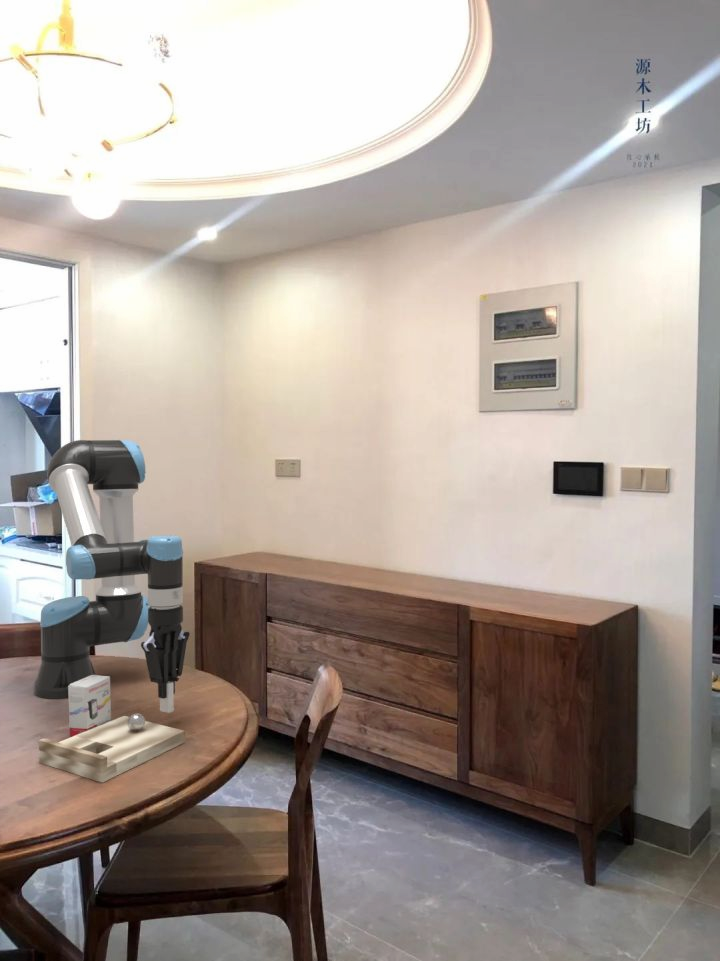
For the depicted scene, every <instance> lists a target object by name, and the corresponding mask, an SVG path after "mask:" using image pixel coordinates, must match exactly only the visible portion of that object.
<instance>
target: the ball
mask: <svg viewBox="0 0 720 961" xmlns="http://www.w3.org/2000/svg"><path fill="white" fill-rule="evenodd" d="M128 717H129V719H128V721H127V725H128V727H129V729H130V730H132V731H139V730H141V729H142V728H143V727H144V724H145V721H146V719H145V717H144V716H143V714H141V713H137V712H136V713H133V714H131V715H130V716H128Z"/></svg>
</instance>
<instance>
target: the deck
mask: <svg viewBox="0 0 720 961" xmlns="http://www.w3.org/2000/svg"><path fill="white" fill-rule="evenodd" d="M129 717H130V716H126V715H123V716H120V717H118V718H115V719H111V721H110V722H107V723H105V724H103V725H100V726H98V727H95V728H93V729H90V730H88V731H85V732H83V733H80V734H78V735H75V736H73V737H70V736H69V737H68V738H66V739H63V740H61V741H59V742H58V741H54V740H51V739H48V738H41V739H39V740H38V762H39V763H40V764H43V765H46V766H49V767H51V768H56V769H58V770H61V771H65V772H68V773H71V774H73V775H77V776H80V777H84V778H87V779H90V780H92V781H95V782H99V783H105V782H107V781H109V780H111V779H113V778H115V777H117V776H118V775H121V774H123V773H125V772H127V771H129V770H131V769H133V768H135V767H137V766H140V765H141V764H144V763H145V762H149V760H151V759H154V758H155V757H158V756H160V755H162V754H165V753H166V752H168V751H170V750H172V749H174V748H176V747H178V746H180V745H182V744H185V742H186V739H185V736H186V735H185V732H186V731H185V730H182V729H178V728H174V727H171V726H167V725H162V724H159V723H155V722H151V721H146V720H145V724H144V727H143V728H142V729H141V730H139V731H132V730H130V729H129V727H128V725H127V721H128V719H129Z"/></svg>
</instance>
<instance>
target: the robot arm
mask: <svg viewBox="0 0 720 961" xmlns="http://www.w3.org/2000/svg"><path fill="white" fill-rule="evenodd" d="M143 454H144V453H143V451H142V449H141V447H140V445H138V443H137V442H135V441H132V440H122V439H117V440H115V439H112V440H111V439H110V440H109V439H107V440H105V439H104V440H102V439H101V440H100V439H97V440H96V439H95V440H88V439H87V440H85V439H77V440H74V441H70V442H68V443H65V444H64V445H63V446H62V447H60V448H59V449H58V450H56V452H55V453H54V454H53V455H52V457H51V459H50V460H49V463H48V466H47V472H46V474H47V475H46V477H47V482H48V485H49V488H50V489H51V491H53V492H54V493H55V494H56V497H57V500H58V504H59V507H60V510H61V514H62V517H63V520H64V524H65V527H66V530H67V535H68V537H69V541H70V544H71V546H70V547H68V548H67V550H66V552H65V567H66V574H67V575H68V577H69V579H72V580H75V581H76V580H95V579H101V587H100V588H99V589H98V591H96V593H95V600H91V601H90V599H89V597H88V596H86V595H79V596H69V597H63V598H59V599H57V600H53V601H51V602H48V603H46V604H45V605H44V606H43V607H42V608H41V610H40V611H41V612H40V622H39V626H40V653H41V654H40V656H41V657H40V658H41V663H40V665H39V669H38V672H37V675H36V679H35V682H34V687H33V688H34V690H33V692H34V695H35V696H37V697H40V698H44V699H66V698H68V699H69V697H68V686H69V685H70V684H71V683H74V682H76V681H79V680H81V679H83V678H86V677H88V676H90V675H97V674H96V672H95V668H94V666H93V663H92V661H91V658H90V647H95V646H100V645H108V644H115V643H116V644H117V643H128V642H132V641H136V640H140V639H141V638H142V637H143V636H144V635H145V634H146V631H147V629H148V625H149V627H150V632H149V638H148V639H147V640H146V641H141V643H140V647H141V649H142V650H143V652H144V657H145V662H146V666H147V671H148V675H149V680H150V682H151V683H155V684H157V696H158V698H159V711H160V712H164V713H168V714H170V713H172V712H174V710H175V709H174V706H175V704H174V702H175V700H174V698H175V697H174V695H175V693H176V688H175V687H176V682H179V680H180V678H179V677H181V676H182V675H183V670H184V669H183V668H184V662H185V656H186V649H187V643H188V640H189V639H190V638H189V637H190V635H191V634H190V632H189V631H185V630H183V627H182V623H183V621H184V607H183V605H182V604H183V602H184V600H183V598H184V597H183V592H184V590H183V585H184V584H183V578H184V576H183V575H184V574H183V565H184V564H183V558H184V557H183V556H184V549H183V540H182V538H181V537H179V536H178V535H167V534H166V535H165V534H164V535H155V536H154V535H153V536H151V537H149V538H148V539H141V540H138V541H135V536H134V534H135V533H134V528H135V527H134V495H135V494H136V493H137V492H138V491H139V485H140V484H142V483H144V482H145V480H146V472H147V471H146V463H145V462H146V461H145V457H144V455H143ZM88 485H92V491H93V493H94V494H95V495H96V496H97V497H98V499H99V514H98V511H97V508H96V505H95V503H94V500H93V497H92V494H91V490H90V488H89V486H88ZM136 575H139V576H140V575H147V597H146V596H145V595H142V590H141V588H139V587H138V586H137V584H136Z"/></svg>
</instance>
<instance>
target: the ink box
mask: <svg viewBox="0 0 720 961" xmlns="http://www.w3.org/2000/svg"><path fill="white" fill-rule="evenodd" d="M111 704H112V701H111V676H107V675H98V674H96V675H90V676H88V677H86V678H83V679H81V680H79V681H76V682H74V683H71V684H70V685H69V686H68V723H69V725H68V726H69V738H70V737H73V736H75V735H78V734H80V733H83V732H85V731H88V730H90V729H93V728H95V727H98V726H100V725H103V724H105V723H107V722H110V721H112V710H111V708H112V705H111Z"/></svg>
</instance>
